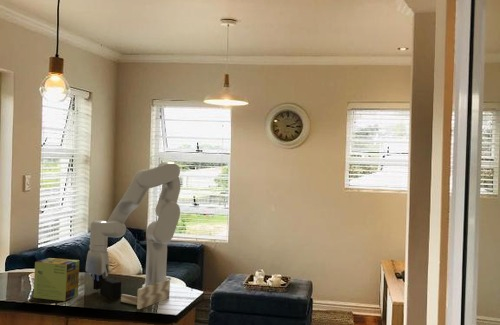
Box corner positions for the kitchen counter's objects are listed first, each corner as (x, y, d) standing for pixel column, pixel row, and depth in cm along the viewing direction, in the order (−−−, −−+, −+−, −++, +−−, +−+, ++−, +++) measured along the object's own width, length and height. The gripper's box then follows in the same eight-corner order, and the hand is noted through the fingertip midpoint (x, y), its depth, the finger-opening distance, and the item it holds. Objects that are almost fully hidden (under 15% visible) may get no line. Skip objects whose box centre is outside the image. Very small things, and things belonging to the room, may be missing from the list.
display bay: (145, 293, 233) (145, 275, 233) (169, 297, 227) (170, 279, 227) (113, 304, 214) (114, 285, 214) (139, 309, 208) (140, 289, 208)
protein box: (65, 301, 215) (67, 264, 215) (32, 298, 218) (34, 261, 218) (78, 295, 226) (80, 260, 226) (47, 292, 229) (48, 257, 229)
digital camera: (123, 297, 225) (123, 281, 225) (112, 299, 222) (113, 283, 222) (110, 292, 233) (111, 276, 233) (100, 294, 229) (100, 278, 229)
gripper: (80, 247, 231) (78, 288, 231) (105, 251, 225) (104, 293, 225) (91, 245, 238) (90, 284, 238) (117, 248, 232) (115, 289, 232)
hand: (97, 288), depth 232 cm, fingers closed
